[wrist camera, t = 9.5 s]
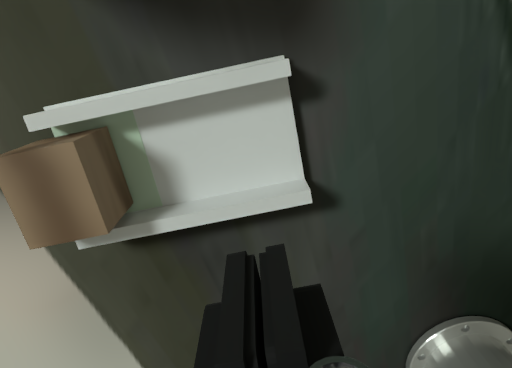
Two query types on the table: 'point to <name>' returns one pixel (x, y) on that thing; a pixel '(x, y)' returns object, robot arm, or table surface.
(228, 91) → the chute
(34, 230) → the walnut block
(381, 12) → the table surface
